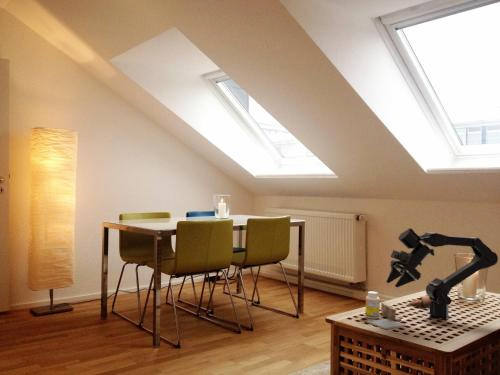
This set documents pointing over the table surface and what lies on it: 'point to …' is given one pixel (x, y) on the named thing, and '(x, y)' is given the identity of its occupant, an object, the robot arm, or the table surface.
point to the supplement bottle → (372, 305)
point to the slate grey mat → (386, 323)
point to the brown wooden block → (389, 312)
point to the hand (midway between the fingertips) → (391, 284)
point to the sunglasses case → (421, 302)
